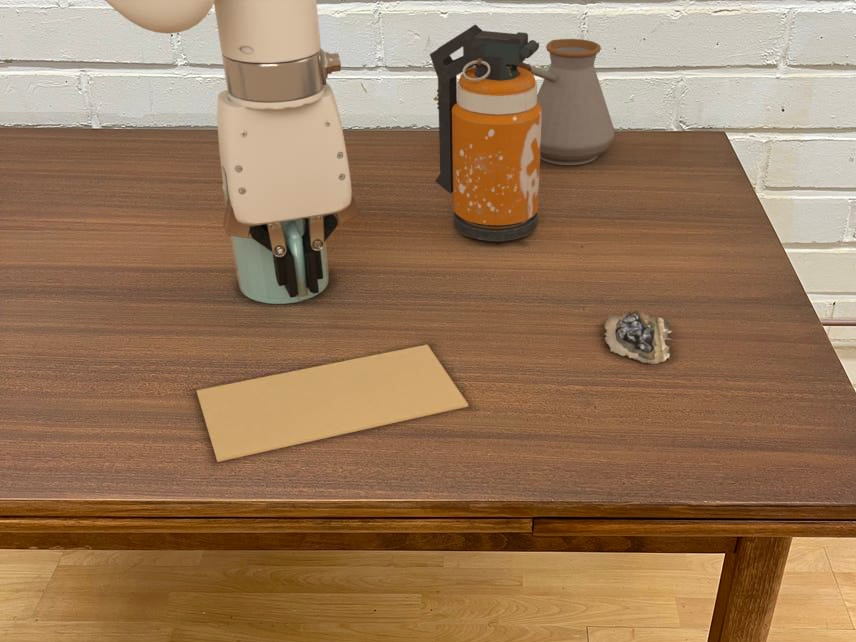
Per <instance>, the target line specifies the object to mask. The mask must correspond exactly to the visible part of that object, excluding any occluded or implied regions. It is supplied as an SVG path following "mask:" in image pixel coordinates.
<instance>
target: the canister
mask: <svg viewBox="0 0 856 642" xmlns="http://www.w3.org/2000/svg"><path fill="white" fill-rule="evenodd" d="M539 48H540V42H537V41H536V40H534V39H531V40H530V41H529V34H528V33H527V32H521V31H518V32H516V33H511V32H510V33H509V32H501V31H491V30H489V31H488V30H483V29H481V27H479V25H477V24H473V25H471V27H469V28H467V29H466V30H464V31H463V32H461V33H460V34H458V35H456V36H455V37H453V38H452V39H450V40H449V41H447V42H446V43H444V44H442V45H441V46H439V47H438V48H437V49H435V50H434V51H432V52H431V53H429V57H430V59H431V62H432V65H433V69H434V71H435V74H436V77H437V89H436V92H437V94H436V97H437V98H436V100H437V102H436V104H437V110H438V139H439V141H438V142H439V143H438V144H439V145H438V146H439V148H438V149H439V174H438V176H437V178H435V180H434V182H435V183H436V184H438V185H439V187H441V188H443V189H444V190H445V191H446V192H447V193H449V194H450V195H451V194H452V205H453V212H452V213H453V215H452V216H453V226H454V228H455V229H456V231H457V232H459V233H460V234H462V235H463V236H466V237H469V238H472V239H475V240H479V241H484V242H492V243H501V242H509V241H512V240H513V241H514V240H516V239H521V238H523V237H526V236H528V235H530V234H531V233H533V232H534V231H536V229H537V226H538V209H539V189H540V188H539V187H540V167H541V159H540V145H541V122H542V108H541V106H540V105H539V104H538V103H537V94H538V82H537V81H536V78H535V75H533V74H532V73H531V72H529V71H528V70H526V69H523V68H520V67H517V65H520V64H521V63H522V62H523V63H524V61H526V59H529V58H531V57H532V56H533V55H534V54H535V53H536V52H537V51H538V50H539ZM460 49H462V56H459V57H458V58H455V59H453V58H452V56H451V55H453V54H455V52H457V51H459V50H460ZM511 65H512V66H511ZM471 67H473V68H471ZM458 75H460V77H459V79H458V81H457V78H458Z"/></svg>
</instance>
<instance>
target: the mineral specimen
mask: <svg viewBox="0 0 856 642" xmlns="http://www.w3.org/2000/svg"><path fill="white" fill-rule="evenodd" d="M606 319H608V320H606V321H605V324H604V329H605V330H606V332H604V333H603V334H604V335H605V337H604V341H605V343H606V344H607V345H608V347H609V348H610V349H609V351H610V352H612V353H615V354H617V355H619V356H622V357H625V356H627V357H628V358H629V359H633V360H636V361H639V362H641V363H644V364H648V365H658V364H660V363H664V362H666V361H667V359H670V355H671V353H670V348H671V347H670V346H669V345H667V344H666V340H669V341H671V340H672V339H671V338H669V337H668V336H669V335H668V334H671V333H672V332H673V330H670V327H671V324H670V322H668V321H667V320H666V319H664V318H663V317H659V316H651V315H650V314H649V313H647V314H646V312H644V311H641V310H639V311H638V310H634V311H633V312H632V313H631V311H627V312H624V313H623V314H622V315H617V314H613V315H612V314H611V313H610V314H609V316H606Z"/></svg>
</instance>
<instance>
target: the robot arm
mask: <svg viewBox="0 0 856 642" xmlns="http://www.w3.org/2000/svg"><path fill="white" fill-rule="evenodd" d="M104 2H106V3H107V4H108V5H109V6H110V7H111V8H113V9H114V10H115V11H116V12H117V13H118V14H120V15H121V16H122V17H124V18H125V19H126V20H128V21H129V22H131V23H132V24H134V25H136V26H138V27H139V28H142V29H144V30H147V31H149V32H150V31H151V32H154V33H158V34H159V33H160V34H178V33H182V32H185V31H188V30H190V29H192V28H194V27H196V26H197V25H199V24H200V23H201V22H202V21H203V20H204V19H205V18H206V17H207V16H208V14H209V13H210V12H211V10H212V8H213V7H214V13H215V18H216V19H215V20H216V24H217V31H218V39H219V44H220V51H221V58H222V64H223V70H224V76H225V77H224V78H225V83H226V90H223V91H221V92H220V93H218V95H217V108H216V110H217V111H216V112H217V113H216V114H217V115H216V116H217V120H216V121H217V122H216V123H217V141H218V149H219V160H220V170H221V177H222V186H223V185H224V191H225V196H226V200H227V205H226V208H225V211H224V216H223V222H222V227H223V229H224V231H225V233H226V235H227V236H229V237H230V236H235V237H241V238H252V239H254V240H255V241H257V242H258V243H260V244H261V245H263V246H264V247H266V248H267V249H268V250H270V251H271V252H272V253H273V260H274V267H275V274H276V279H277V283H278V285H279V286H283V285H284V286H285V288H286V290H287V292H288V294H289V296H290V298H292V297H296V296H297V295H298V287H297V279H296V271H295V263H294V257H293V255H292V253H291V251H290V250H289V246H288V245H287V243H286V241H285V238H284V233H283V228H282V223H281V222H285V221H291V220H298V219H303V236H302V241H303V251H304V260H305V269H306V278H307V287H308V289H309V291H310V293H313V294H315V293H319V287H318V279H323V269H322V260H321V251H320V250H322V249H323V247H324V242H325V241H326V242H327V240H328V238H330V236H331V235H332V233H333V232H334V231H335V229H336V228H337V227H338V226H339V225H340V224H341V225H342V224H344V223H347V222H348V221H350V220H352V219H354V218H356V217H357V216H359V214H360V208H359V206H358V203H357V201H356V199H355V197H354V195H353V193H352V179H351V172H350V165H349V159H348V153H347V148H346V142H345V136H344V132H343V126H342V121H341V116H340V113H339V108H338V105H337V101H336V98H335V95H334V91H333V88H332V87H331V85H330V84H328V83H327V79H328V76H329V75H331V74H332V73H334V72H335V73H336V72H341V69H342V64H341V63H342V62H341V58H340V55H339V53H338V52H334V53H333V52H332V53H329V52H328V51H324V50H323V49H322V45H321V36H320V35H321V33H320V25H319V13H318V5H317V0H104ZM319 294H320V293H319Z"/></svg>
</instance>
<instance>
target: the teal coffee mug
mask: <svg viewBox="0 0 856 642" xmlns="http://www.w3.org/2000/svg"><path fill="white" fill-rule="evenodd" d="M221 189H222V195H223V200H224V207H225V209H226V205H227V200H226V196H225V191H224V185H223V184H222V185H221ZM281 223H282V228H283V233H284V238H285V241H286V243H287V245H288V246H289V250H290V251H291V253H292V255H293V257H294V263H295V271H296V279H297V287H298V295H297V296H296V297H292V298H290V296H289V294H288V292H287V290H286V288H285V286H284V285H283V286H279V285H278V283H277V279H276V274H275V267H274V260H273V253H272V252H271V251H270V250H268V249H267V248H266V247H264V246H263V245H261V244H260V243H258V242H257V241H255V240H254V239H252V238H241V237H235V236H230V235H229V237H230V238H229V239H230V245H231V250H232V255H233V261H234V268H235V274H236V279H237V282H238V287H239V290H240V291H241V294H243V295H244V296H245V297H246V298H249V299H250V300H252V301H255V302H259V303H264V304H270V305H286V304H294V303H299V302H303V301H307V300H310V299H312V298H314V297H316V296H317V295H319V294H321V293H322V292H323V291H325V289H326V288H327V286H328V284H329V278H330V277H329V274H330V272H329V261H328V250H327V240H326V241H325V242H324V247H323V249H322V250H320V251H321V260H322V269H323V279H318V287H319V293H315V294H313V293H310V291H309V289H308V287H307V278H306V269H305V260H304V251H303V241H302V236H303V219H298V220H291V221H285V222H281Z"/></svg>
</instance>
